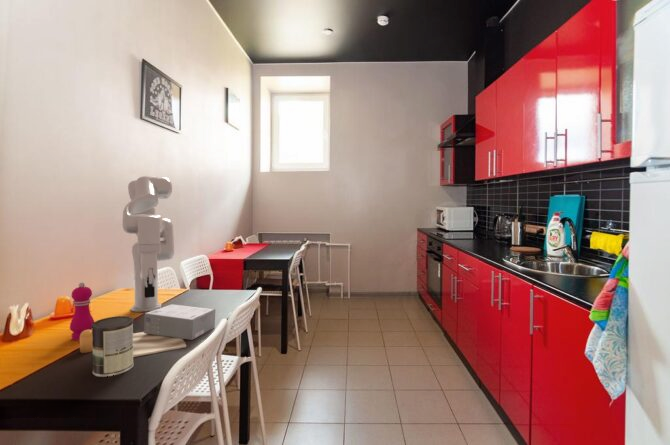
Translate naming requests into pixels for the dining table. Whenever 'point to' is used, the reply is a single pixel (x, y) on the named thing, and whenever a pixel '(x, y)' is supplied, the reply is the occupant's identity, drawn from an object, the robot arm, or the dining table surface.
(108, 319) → the coffee can
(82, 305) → the pepper mill
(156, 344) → the board
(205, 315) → the hard drive box
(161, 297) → the dining table surface
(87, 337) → the salt shaker
